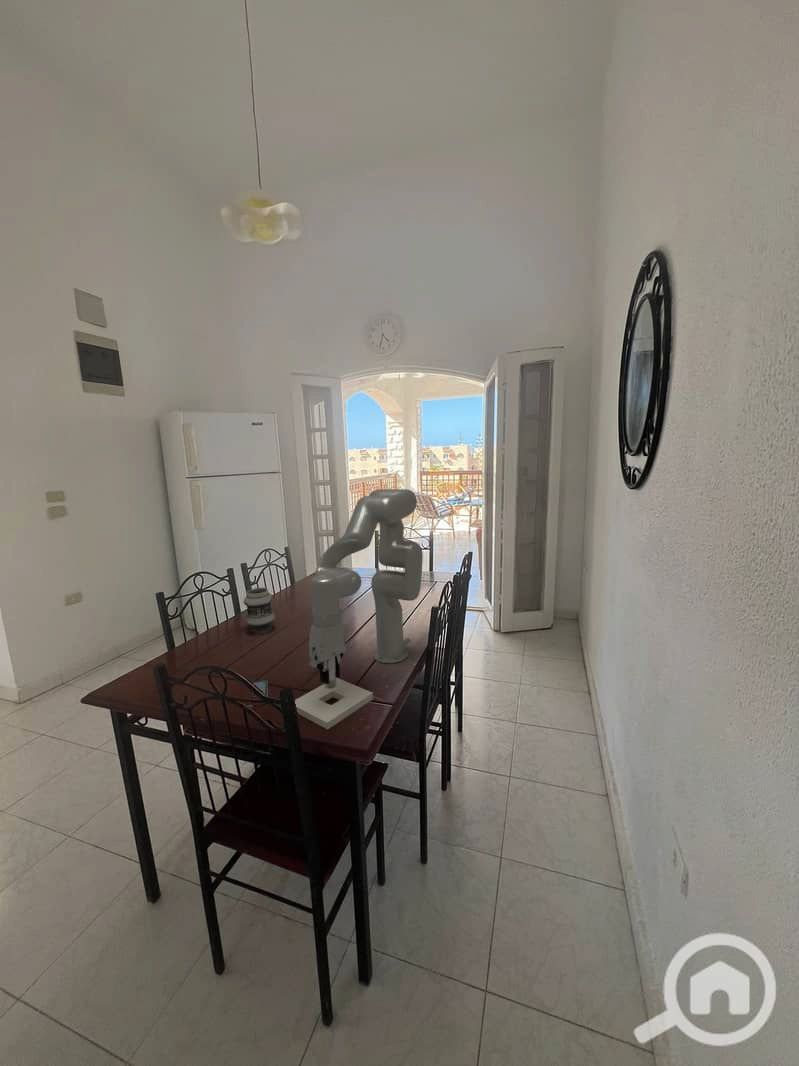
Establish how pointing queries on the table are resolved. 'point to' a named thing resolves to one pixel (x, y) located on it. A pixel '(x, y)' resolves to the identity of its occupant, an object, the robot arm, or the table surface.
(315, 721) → the socket plate
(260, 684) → the smartphone
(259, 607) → the apothecary jar
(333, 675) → the peg
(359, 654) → the table surface
